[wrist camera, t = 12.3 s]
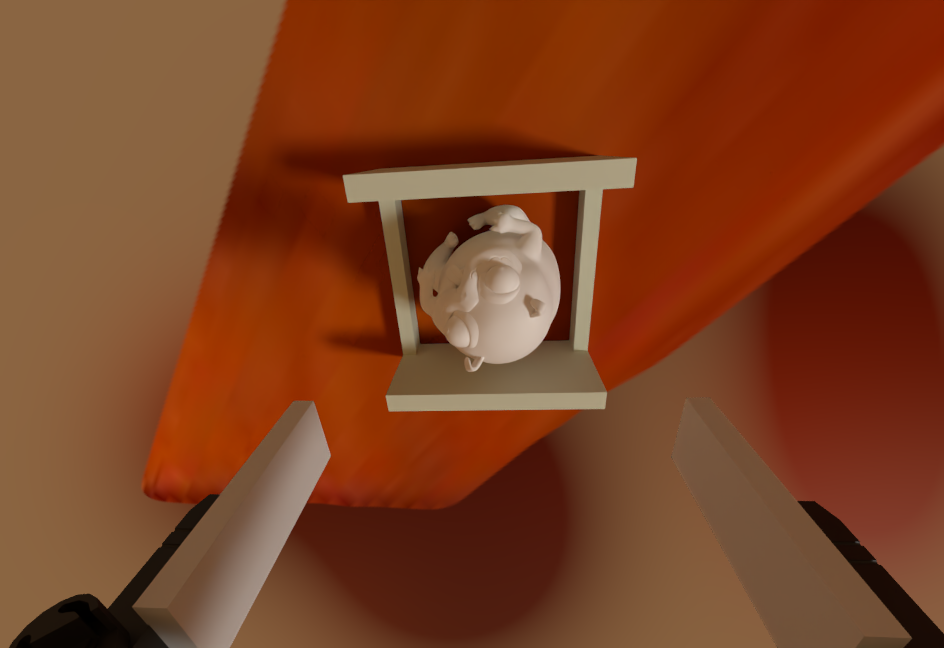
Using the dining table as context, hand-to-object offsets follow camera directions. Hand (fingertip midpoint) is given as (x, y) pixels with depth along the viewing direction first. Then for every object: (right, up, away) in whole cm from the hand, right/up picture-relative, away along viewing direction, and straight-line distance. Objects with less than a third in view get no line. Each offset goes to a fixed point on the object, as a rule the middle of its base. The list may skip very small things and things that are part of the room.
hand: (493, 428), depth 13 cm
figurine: (+1, +9, +18) cm, 20 cm away
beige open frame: (+1, +8, +18) cm, 20 cm away
